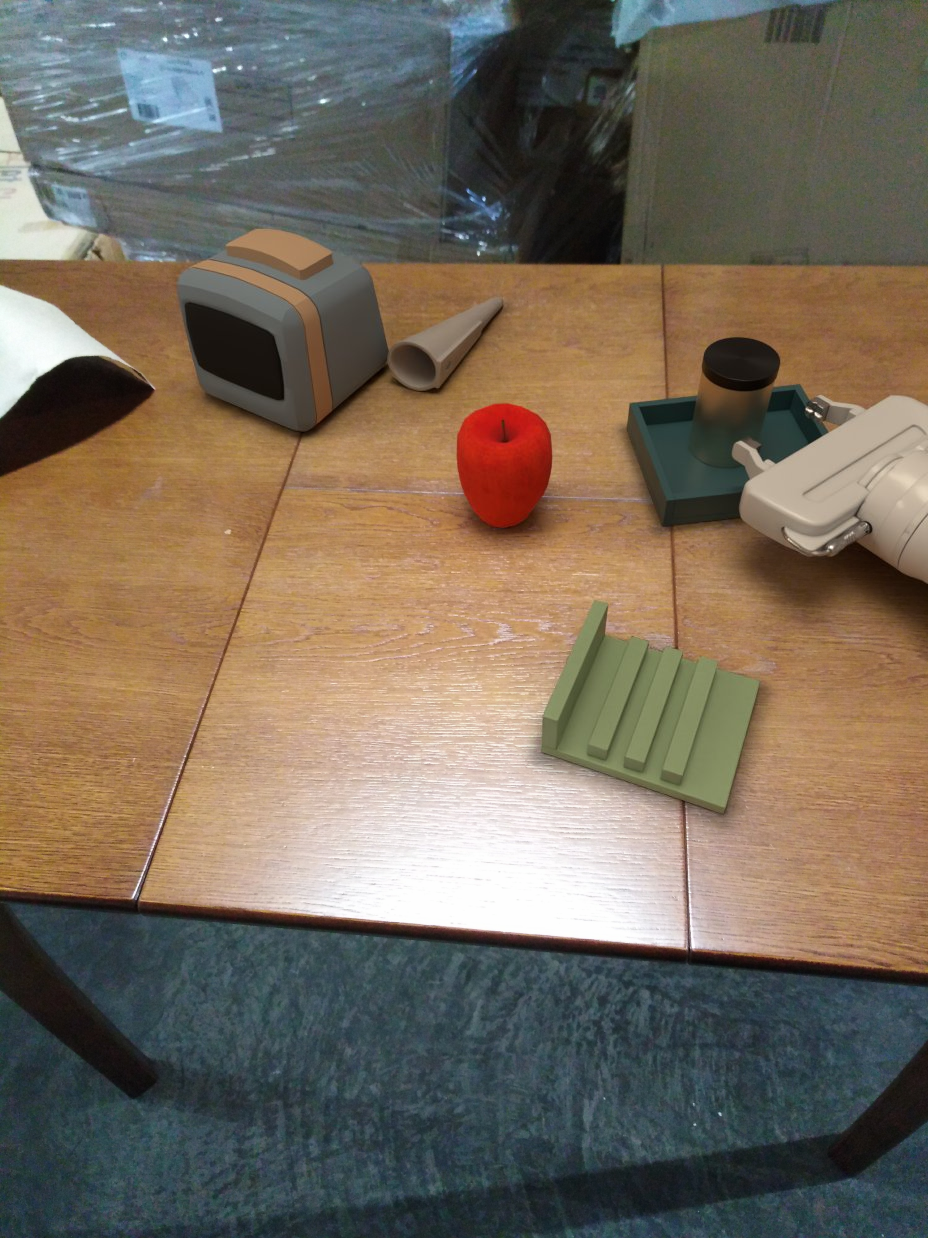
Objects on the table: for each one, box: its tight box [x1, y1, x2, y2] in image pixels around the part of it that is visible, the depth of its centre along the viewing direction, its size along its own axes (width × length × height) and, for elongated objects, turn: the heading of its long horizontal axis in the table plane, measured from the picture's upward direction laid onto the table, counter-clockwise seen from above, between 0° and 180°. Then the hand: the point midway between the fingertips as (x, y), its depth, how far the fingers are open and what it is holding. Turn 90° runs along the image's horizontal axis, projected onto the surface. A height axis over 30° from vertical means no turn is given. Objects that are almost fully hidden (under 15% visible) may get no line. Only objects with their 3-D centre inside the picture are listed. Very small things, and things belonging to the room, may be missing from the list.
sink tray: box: [626, 383, 830, 527], centre depth 87 cm, size 18×15×3 cm
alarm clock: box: [176, 228, 390, 433], centre depth 95 cm, size 16×16×16 cm
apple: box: [456, 402, 553, 529], centre depth 82 cm, size 9×9×11 cm
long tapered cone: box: [387, 296, 504, 392], centre depth 103 cm, size 6×6×19 cm
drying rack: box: [540, 599, 761, 814], centre depth 68 cm, size 14×12×5 cm
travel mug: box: [689, 336, 781, 468], centre depth 85 cm, size 7×7×10 cm
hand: (775, 424), depth 80 cm, fingers open, 8 cm apart
